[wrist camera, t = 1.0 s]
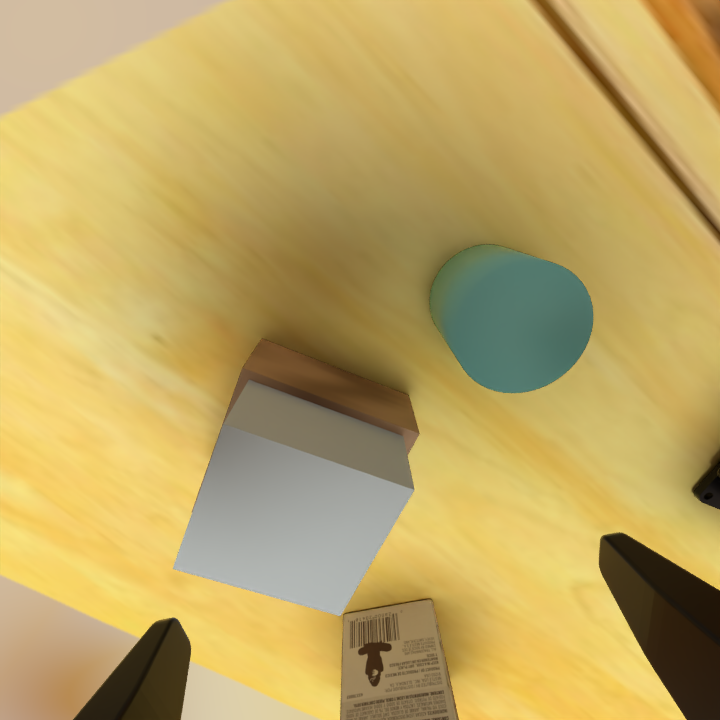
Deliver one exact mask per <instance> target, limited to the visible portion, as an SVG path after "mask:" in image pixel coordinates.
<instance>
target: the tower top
mask: <svg viewBox="0 0 720 720" xmlns="http://www.w3.org/2000/svg"><path fill="white" fill-rule="evenodd" d="M413 492H414V485H413V481H412V476H411V471H410V466H409V461H408V456H407V451H406V447H405V442H404V437H403V436H401V435H399V434H396V433H393V432H391V431H388V430H385V429H382V428H380V427H377V426H374V425H372V424H369V423H366V422H363V421H361V420H358V419H355V418H352V417H350V416H347V415H344V414H342V413H339V412H336V411H333V410H331V409H328V408H325V407H322V406H320V405H317V404H314V403H312V402H309V401H306V400H303V399H301V398H298V397H295V396H292V395H290V394H287V393H284V392H282V391H279V390H276V389H273V388H271V387H268V386H265V385H262V384H260V383H257V382H254V381H252V380H248V382H247V384H246V385H245V387H244V389H243V391H242V392H241V394H240V396H239V398H238V399H237V401H236V403H235V404H234V406H233V408H232V410H231V411H230V413H229V415H228V417H227V418H226V420H225V422H224V424H223V426H222V429H221V432H220V435H219V438H218V440H217V443H216V446H215V449H214V452H213V455H212V458H211V461H210V463H209V466H208V469H207V472H206V475H205V478H204V481H203V483H202V486H201V489H200V492H199V495H198V498H197V501H196V504H195V506H194V509H193V512H192V515H191V518H190V521H189V524H188V526H187V529H186V532H185V535H184V538H183V541H182V544H181V546H180V549H179V552H178V555H177V558H176V561H175V564H174V567H173V569H175V570H178V571H182V572H185V573H189V574H192V575H196V576H200V577H203V578H207V579H210V580H214V581H217V582H221V583H224V584H228V585H232V586H235V587H239V588H242V589H246V590H249V591H253V592H256V593H260V594H263V595H267V596H271V597H274V598H278V599H281V600H285V601H288V602H292V603H295V604H299V605H303V606H306V607H310V608H313V609H317V610H320V611H324V612H327V613H331V614H335V615H338V616H341V614H342V612H343V611H344V609H345V607H346V606H347V604H348V602H349V600H350V599H351V597H352V595H353V594H354V592H355V590H356V589H357V587H358V585H359V583H360V582H361V580H362V578H363V577H364V575H365V573H366V572H367V570H368V568H369V566H370V565H371V563H372V561H373V560H374V558H375V556H376V554H377V553H378V551H379V549H380V548H381V546H382V544H383V543H384V541H385V539H386V537H387V536H388V534H389V532H390V531H391V529H392V527H393V526H394V524H395V522H396V520H397V519H398V517H399V515H400V514H401V512H402V510H403V509H404V507H405V505H406V503H407V502H408V500H409V498H410V497H411V495H412V493H413Z"/></svg>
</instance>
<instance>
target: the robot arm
mask: <svg viewBox="0 0 720 720" xmlns="http://www.w3.org/2000/svg"><path fill="white" fill-rule="evenodd" d="M694 495H695V497H696V498H697V499H699V500H700V501H701V502H702V503H705V504H707V505H710V506H712V507H715V508H717V509H720V463H719V464H718V465H717V466H716V467H715V468H714V469H713V470H712V471H711V473H710V474H709V475H708V476H707V477H706V478H705V479H704V480H703V481H702V483H701V484H700V485H699V486H698V487H697V488H696V489H695V491H694ZM599 568H600V571H601V573H602V576H603V578H604V579H605V581H606V583H607V585H608V587H609V589H610V591H611V593H612V595H613V596H614V598H615V600H616V602H617V604H618V606H619V608H620V610H621V611H622V613H623V615H624V617H625V619H626V621H627V623H628V625H629V626H630V628H631V630H632V632H633V634H634V636H635V638H636V640H637V642H638V643H639V645H640V647H641V649H642V650H643V652H644V654H645V656H646V657H647V659H648V661H649V662H650V664H651V665H652V667H653V669H654V670H655V672H656V673H657V675H658V676H659V678H660V679H661V681H662V683H663V684H664V686H665V687H666V689H667V690H668V692H669V693H670V695H671V696H672V698H673V699H674V701H675V702H676V704H677V706H678V707H679V709H680V710H681V712H682V713H683V715H684V716H685V718H686V719H687V720H720V591H719V590H718V589H716V588H715V587H713V586H711V585H710V584H708V583H706V582H705V581H703V580H701V579H700V578H698V577H696V576H695V575H693V574H691V573H690V572H688V571H686V570H685V569H683V568H681V567H680V566H678V565H676V564H675V563H673V562H671V561H670V560H668V559H666V558H665V557H663V556H661V555H660V554H658V553H656V552H655V551H653V550H651V549H650V548H648V547H646V546H645V545H643V544H641V543H640V542H638V541H636V540H635V539H633V538H631V537H630V536H628V535H626V534H624V533H620V532H619V533H612V534H607V535H603V536H602V537H601V539H600V550H599ZM190 655H191V645H190V641H189V639H188V637H187V635H186V633H185V631H184V630H183V628H182V626H181V624H180V622H179V621H178V619H176V618H168V619H163V620H159V621H156V622H155V623H154V624H153V625H152V626H151V627H150V628H149V629H148V630H147V632H146V633H145V634H144V635H143V636H142V638H141V639H140V640H139V641H138V642H137V644H136V645H135V646H134V647H133V649H132V650H131V651H130V652H129V653H128V655H126V657H125V658H124V659H123V660H122V661H121V663H120V664H119V665H118V666H117V667H116V669H115V670H114V671H113V672H112V673H111V675H110V676H109V677H108V678H107V679H106V681H105V682H104V683H103V684H102V685H101V687H100V688H99V689H98V690H97V691H96V693H95V694H94V695H93V696H92V698H91V699H90V700H89V701H88V702H87V703H86V705H85V706H84V707H83V708H82V709H81V711H80V712H79V713H78V714H77V715H76V717H75V718H74V719H73V720H181V713H182V708H183V701H184V695H185V688H186V682H187V675H188V669H189V662H190Z"/></svg>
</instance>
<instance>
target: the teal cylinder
mask: <svg viewBox="0 0 720 720" xmlns="http://www.w3.org/2000/svg"><path fill="white" fill-rule="evenodd" d="M430 312H431V316H432V319H433V321H434V324H435V325H436V327H437V329H438V330H439V332H440V333H441V335H442V337H443V338H444V340H445V341H446V343H447V344H448V346H449V347H450V349H451V351H452V352H453V354H454V355H455V357H456V358H457V360H458V361H459V363H460V364H461V366H462V368H463V369H464V370H465V372H466V373H467V374H468V375H469V376H470V377H471V378H472V379H473V380H474V381H476V382H477V383H479V384H480V385H482V386H484V387H486V388H488V389H491V390H494V391H498V392H503V393H522V392H528V391H532V390H536V389H539V388H541V387H544V386H546V385H548V384H550V383H552V382H554V381H555V380H557V379H558V378H560V377H561V376H562V375H564V374H565V373H566V372H567V371H568V370H569V369H570V368H571V367H572V366H573V365H574V364H575V363H576V362H577V360H578V359H579V358H580V356H581V355H582V353H583V351H584V350H585V348H586V346H587V343H588V341H589V338H590V335H591V332H592V326H593V307H592V302H591V299H590V296H589V294H588V291H587V289H586V288H585V286H584V285H583V283H582V282H581V281H580V279H579V278H578V277H577V276H576V275H574V274H573V273H572V272H571V271H569V270H568V269H566V268H564V267H563V266H560V265H558V264H555V263H552V262H549V261H546V260H543V259H540V258H537V257H534V256H531V255H528V254H524V253H521V252H518V251H515V250H512V249H509V248H506V247H503V246H498V245H490V244H487V245H478V246H474V247H470V248H467V249H465V250H463V251H461V252H459V253H458V254H456V255H455V256H453V257H452V258H451V259H450V260H449V261H448V262H447V263H446V264H445V265H444V266H443V267H442V268H441V270H440V271H439V273H438V274H437V276H436V278H435V280H434V282H433V285H432V288H431V292H430Z"/></svg>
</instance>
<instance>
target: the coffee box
mask: <svg viewBox="0 0 720 720" xmlns="http://www.w3.org/2000/svg"><path fill="white" fill-rule="evenodd" d="M340 720H459V719H458V714H457V709H456V705H455V700H454V695H453V691H452V686H451V682H450V677H449V672H448V668H447V663H446V659H445V654H444V650H443V645H442V641H441V637H440V632H439V628H438V623H437V619H436V614H435V610H434V605H433V602H432V600H422V601H416V602H410V603H404V604H399V605H393V606H388V607H382V608H377V609H371V610H365V611H360V612H353V613H348V614H344V615H343V642H342V677H341V710H340Z"/></svg>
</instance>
